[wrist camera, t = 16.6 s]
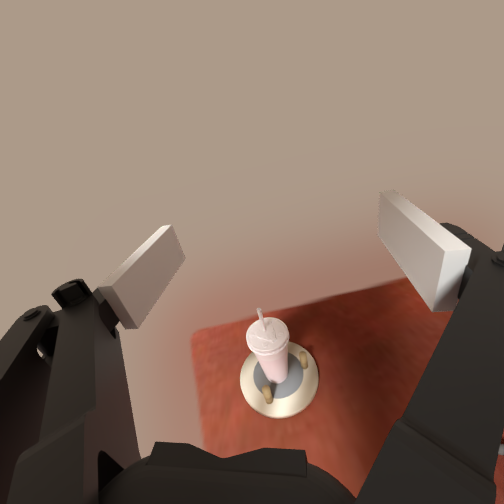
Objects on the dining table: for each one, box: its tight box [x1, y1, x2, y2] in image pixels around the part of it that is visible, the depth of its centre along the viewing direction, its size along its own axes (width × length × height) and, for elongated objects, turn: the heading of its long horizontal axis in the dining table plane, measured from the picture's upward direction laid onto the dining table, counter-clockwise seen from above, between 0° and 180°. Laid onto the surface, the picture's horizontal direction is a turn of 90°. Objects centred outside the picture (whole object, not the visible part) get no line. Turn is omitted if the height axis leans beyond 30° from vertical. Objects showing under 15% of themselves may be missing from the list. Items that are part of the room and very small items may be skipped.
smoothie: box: [246, 308, 289, 383], centre depth 37 cm, size 6×6×14 cm
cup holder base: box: [240, 341, 319, 419], centre depth 40 cm, size 13×13×4 cm
